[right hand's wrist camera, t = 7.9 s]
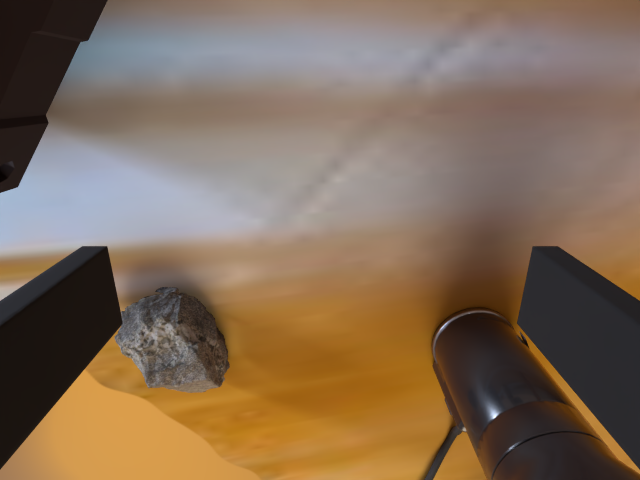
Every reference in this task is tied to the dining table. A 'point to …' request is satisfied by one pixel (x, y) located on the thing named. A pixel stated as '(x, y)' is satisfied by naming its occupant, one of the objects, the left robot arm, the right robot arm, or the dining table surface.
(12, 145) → the mechanical component
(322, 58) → the dining table surface
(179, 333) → the rock
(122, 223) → the dining table surface
